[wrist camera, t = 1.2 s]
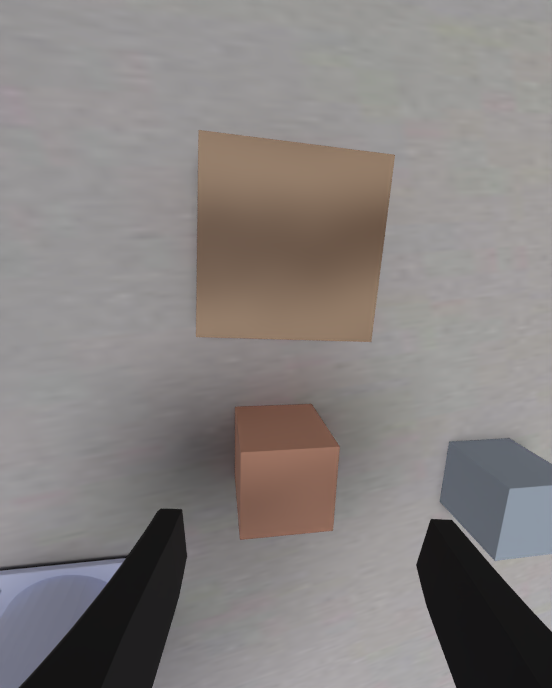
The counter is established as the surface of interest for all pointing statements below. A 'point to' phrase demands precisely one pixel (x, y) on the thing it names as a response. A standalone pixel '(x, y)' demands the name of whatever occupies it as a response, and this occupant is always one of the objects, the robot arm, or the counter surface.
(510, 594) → the robot arm
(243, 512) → the terracotta block
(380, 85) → the counter surface
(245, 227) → the walnut block
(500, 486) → the slate-grey block
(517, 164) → the counter surface
